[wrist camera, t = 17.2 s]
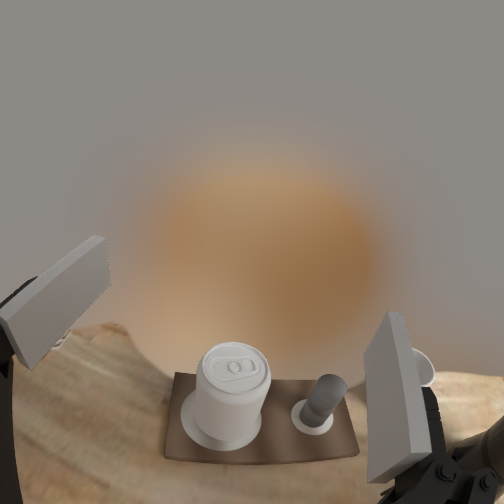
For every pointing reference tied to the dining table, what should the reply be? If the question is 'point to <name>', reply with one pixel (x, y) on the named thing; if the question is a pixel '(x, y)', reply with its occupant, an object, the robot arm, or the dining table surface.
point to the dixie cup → (424, 368)
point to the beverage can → (230, 390)
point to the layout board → (268, 425)
